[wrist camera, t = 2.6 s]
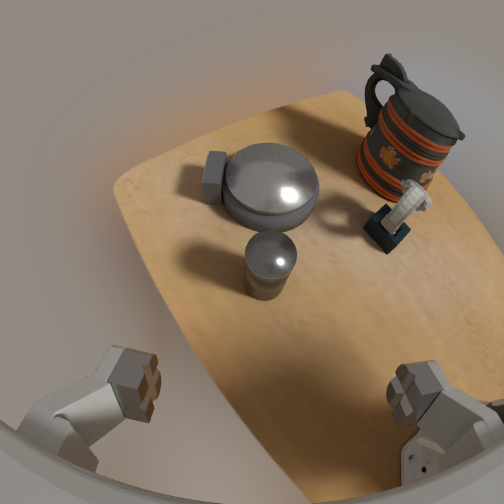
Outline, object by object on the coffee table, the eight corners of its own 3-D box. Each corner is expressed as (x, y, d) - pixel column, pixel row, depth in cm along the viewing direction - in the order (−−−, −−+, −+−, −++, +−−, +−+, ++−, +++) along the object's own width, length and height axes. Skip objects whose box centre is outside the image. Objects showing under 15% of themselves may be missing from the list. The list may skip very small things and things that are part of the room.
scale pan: (317, 219, 35) (319, 216, 34) (220, 211, 35) (219, 207, 34) (312, 151, 40) (313, 148, 39) (231, 143, 40) (231, 140, 39)
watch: (407, 232, 39) (443, 194, 29) (381, 261, 37) (420, 224, 27) (383, 207, 41) (414, 165, 31) (355, 233, 38) (387, 189, 28)
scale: (316, 237, 38) (326, 219, 33) (199, 227, 38) (194, 207, 33) (312, 163, 44) (318, 142, 39) (214, 155, 43) (212, 133, 39)
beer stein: (321, 145, 46) (350, 50, 27) (365, 123, 50) (395, 47, 32) (400, 219, 40) (467, 135, 22) (432, 184, 44) (484, 114, 26)
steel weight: (283, 302, 34) (297, 279, 26) (242, 299, 34) (242, 275, 26) (284, 264, 36) (297, 232, 28) (245, 261, 36) (247, 227, 28)
